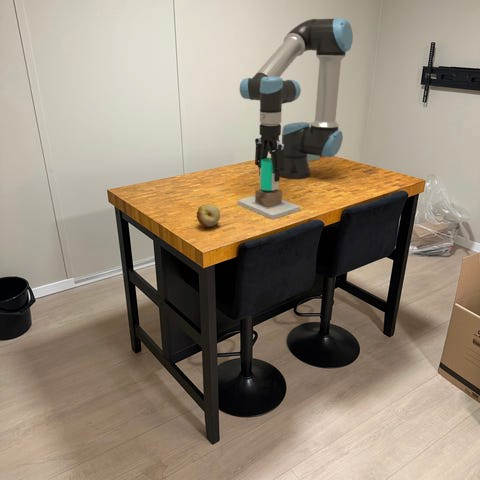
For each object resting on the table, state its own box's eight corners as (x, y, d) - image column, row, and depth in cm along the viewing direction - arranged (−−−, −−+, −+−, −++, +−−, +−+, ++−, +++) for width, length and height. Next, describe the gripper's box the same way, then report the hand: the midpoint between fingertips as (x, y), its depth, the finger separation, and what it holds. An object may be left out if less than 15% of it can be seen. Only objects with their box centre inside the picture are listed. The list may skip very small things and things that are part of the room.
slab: (237, 204, 177) (237, 200, 177) (264, 196, 185) (264, 192, 184) (272, 219, 163) (272, 215, 162) (300, 210, 171) (300, 206, 170)
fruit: (193, 229, 155) (192, 207, 152) (204, 220, 162) (203, 199, 159) (214, 232, 153) (213, 210, 149) (224, 223, 160) (223, 201, 156)
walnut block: (255, 202, 174) (255, 190, 172) (269, 198, 178) (269, 186, 176) (267, 207, 169) (267, 194, 167) (281, 203, 173) (282, 190, 171)
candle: (259, 185, 173) (260, 154, 168) (275, 185, 174) (276, 153, 169) (261, 190, 168) (262, 158, 163) (278, 190, 168) (279, 158, 163)
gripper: (244, 121, 166) (244, 183, 175) (281, 129, 152) (278, 195, 162) (260, 118, 170) (259, 179, 180) (297, 126, 157) (294, 191, 166)
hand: (268, 187), depth 171 cm, fingers closed on candle, 6 cm apart
